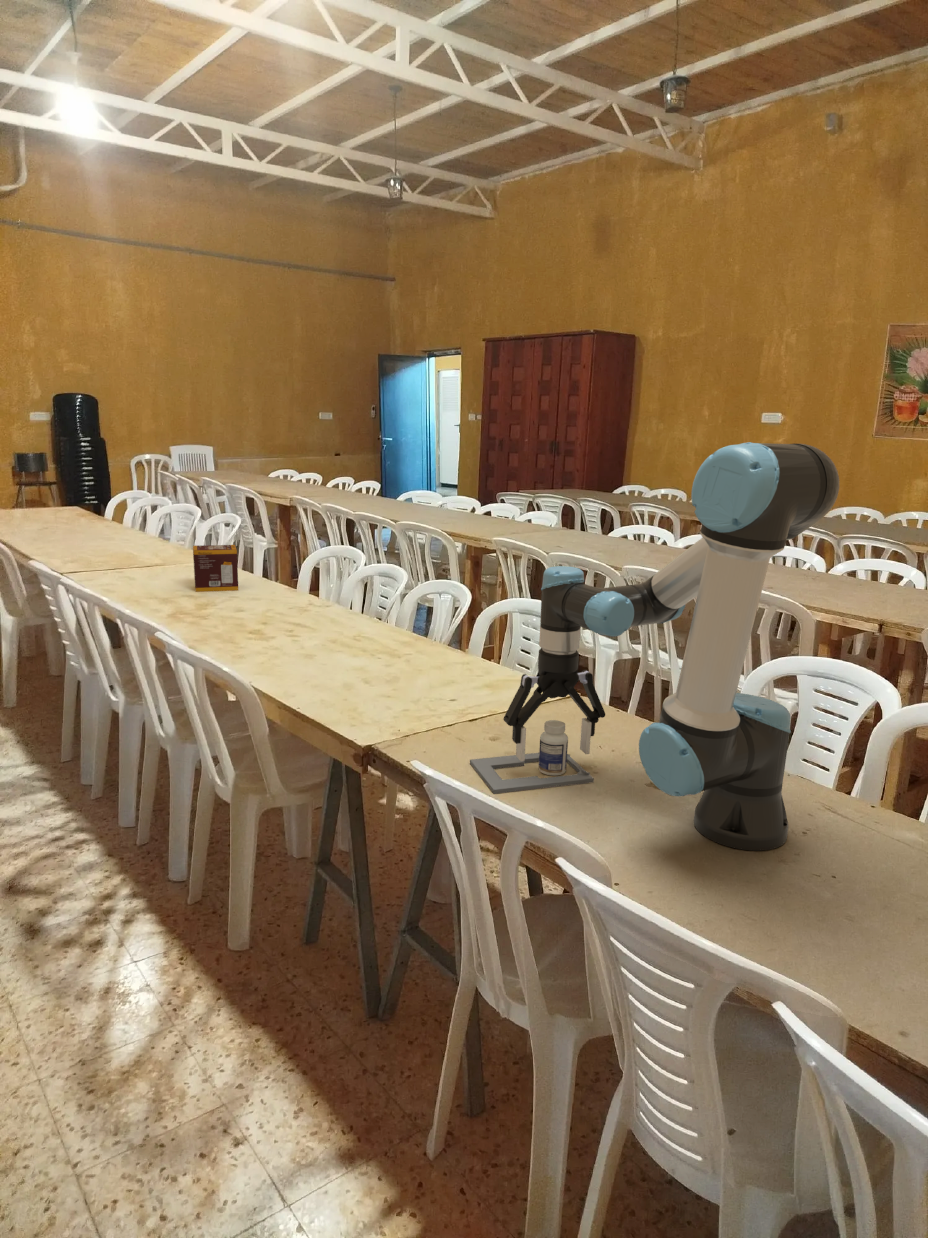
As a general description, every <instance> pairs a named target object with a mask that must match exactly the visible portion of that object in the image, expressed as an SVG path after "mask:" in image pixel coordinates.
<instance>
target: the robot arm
mask: <svg viewBox="0 0 928 1238" xmlns="http://www.w3.org/2000/svg"><path fill="white" fill-rule="evenodd" d="M839 491H840V475H839V472H838V469H837V466H836V465H835V463H834V462H833V460H832V459H831V458H830V456H828V455H827V454H826V453H825V451H822V450H821V449H820V448H817V447H815V446H814V445H809V444H806V443H761V442H750V441H749V442H748V441H747V442H743V443H739V444H730V445H726V446H724V447H721V448H718V449H717V450H715V451H714V452H713V453H712V454H710V455H709V456H707V458H705V460H704V461H703V462H702V463H701V465H700V466H699V467H698V470H697V471H696V474H695V476H694V479H693V482H692V487H691V493H690V494H691V504H692V506H693V507H694V508H695V510H694V514H695V517H696V518H697V520H698V521H699V522H700V523H701V526H700V531H699V534H700V536H701V538H700V539H698V540H697V541H696V542H694V543H693V544H692V545H690V546H689V547H688V548H687V549H685V550H684V551H683V552H682V553H680V554H679V555H677V557H675V558H673V560H671V561H670V562H669V563H667V564H666V565H664V566H663V567H662V568H661V569H660V570H658V571H657V572H656V573H655V574H653V575H652V576H650V578H648V579H647V580H645V581H644V582H641V583H635V584H628V585H627V584H626V585H619V586H618V585H617V586H610V587H596V586H592V585H589V584H586V583H585V575H584V574H585V573H584V571H583V570H582V569H581V568H579V567H575V566H569V565H568V566H567V565H566V566H565V565H564V566H563V565H557V566H550V567H547V568H545V570H544V572H543V574H542V575H543V576H542V584H541V588H540V590H541V594H540V596H541V597H540V598H541V600H540V601H541V602H540V623H539V624H540V626H539V640H538V641H539V643H538V646H539V650H538V655H537V656H538V661H537V674H536V675H535V676H534V675H527V674H526V673H523V674H522V675H521V678H520V685H519V687H518V689H517V691H516V693H515V695H514V697H513V699H512V700H511V702H510V704H509V707H508V709H507V710H506V712H505V714H504V717H503V719H502V720H503V722H505V724H506V725H508V726H509V727H512V736H511V739H512V741H513V743H514V744H515V755H516V756H517V757H518V759H519V760H520V761H525V754H526V738H527V727H525V726H524V725H526V723H527V722H528V720H529V719H530V718H531V717H532V716H533V714H535V712H536V710H538V708H539V707H540V706H541V704H543V703H544V702H545V701H547V699H548V698H550V699H555V698H563V699H564V698H566V697H567V696H568V695H569V697H570V698H571V699H572V700H573V702H574V703H575V704H576V706H577V707H578V708H579V709H580V711H581V712H582V713H583V714H584V715H585V717H582V718H581V727H580V741H579V742H580V743H579V750H580V751H582V752H583V753H584V754H585V755H590V752H591V751H590V750H591V749H590V748H591V738H592V737H594V736H595V732H596V724H597V723H598V722H599V719H600V718H605V717H606V712H605V709H604V707H603V704H602V702H601V699H600V698H599V695H598V692H597V691H596V688H595V686H594V676H593V673H591V672H589V671H588V670H587V669H583V670H582V671H581V672H578V670H579V661H580V660H579V659H580V658H579V657H580V656H579V655H580V653H579V649H580V645H581V644H580V641H581V628H583V629H586V630H589V631H590V632H593V633H595V634H598V635H599V636H608V637H612V638H613V637H614V638H615V637H619V636H621V635H623V634H624V633H625V632H627V631H628V630H629V629H630V628H633V627H639V626H646V625H654V624H664V623H668V622H669V621H674V620H677V619H678V618H680V617H681V616H682V614H683V611H684V610H685V608H686V605H687V604H688V603H689V602H690V601H692V600H694V599H696V600H695V605H694V609H693V614H692V619H691V622H690V628H689V632H688V637H687V640H686V646H685V651H684V655H683V660H682V664H681V668H680V672H679V678H678V682H677V686H676V691H675V692H674V693H672V694H670V695H668V696H667V697H665V699H664V700H663V703H662V707H661V712H660V717H659V720H658V722H652V723H650V724H649V725H648V726H647V727H645V728H644V729H643V730H642V731H641V733H640V737H639V740H638V753H639V758H640V763H641V765H642V767H643V768H644V771H645V774H646V775H647V776H648V779H649V780H650V781H651V782H652V783H653V785H654V786H656V788H657V789H658V790H659V791H661V792H663V793H665V794H666V795H669V796H671V797H672V796H673V797H685V796H691V795H692V796H695V795H697V794H700V793H701V792H702V794H701V797H700V799H699V801H698V803H697V804H696V805H695V810H694V816H693V825H694V827H695V828H696V830H697V831H698V832H699V833H700V834H701V835H702V836H704V837H705V838H707V839H708V840H710V841H712V842H715V843H717V844H719V845H722V846H726V847H729V848H734V849H737V850H744V851H754V852H755V851H757V852H758V851H769V850H774V849H777V848H779V847H781V846H783V845H784V844H785V843H786V842H787V840H788V834H789V820H788V817H787V812H786V807H785V802H784V799H783V794H782V793H783V783H784V777H785V769H786V761H787V755H788V749H789V748H788V745H789V740H790V734H791V733H792V731H791V717H792V716H791V712H790V711H789V710H788V708H786V706H785V705H783V704H781V703H779V702H777V701H774V700H772V699H769V698H766V697H763V696H758V695H754V694H748V693H742V692H741V693H739V692H738V688H739V685H740V679H741V676H742V672H743V668H744V664H745V659H746V656H747V651H748V647H749V643H750V640H751V636H752V631H753V627H754V623H755V621H756V620H755V619H756V615H757V611H758V608H759V603H760V600H761V595H762V591H763V587H764V583H765V580H766V576H767V575H766V574H767V572H768V568H769V563H770V559H771V558H772V557H774V556H775V555H777V554H779V553H781V552H782V551H784V550H785V546H786V542H787V541H789V540H793V539H795V538H797V537H798V536H799V535H800V534H802V533H804V532H805V531H807V530H808V529H811V527H812V526H814V525H816V524H817V523H818V522H820V520H822V519H823V518H825V516H826V515H827V514H828V513H829V512H830V511H831V509H832V508H833V507H834V505H835V503H836V501H837V499H838V496H839ZM579 681H580V683H581V684H582V686H583V688H584V691H585V693H586V695H587V698H588V700H589V703H590V705H591V707H592V709H591V708H590V707H589V706H588V704H587V703H586V701H585V700H584V699H583V698H582V697H581V695H580V694H579V693H578V691H577V689H576V688H575V686H576V685H577V683H578V682H579ZM535 684H537V687H536V688H535V689H534V690H533V694H532V695H531V697H530V698H529V699H528V700H527V698H528V697H529V694H530V693H531V690H532V688H534V686H535ZM526 701H527V702H526Z"/></svg>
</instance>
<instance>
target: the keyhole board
mask: <svg viewBox="0 0 928 1238" xmlns="http://www.w3.org/2000/svg"><path fill="white" fill-rule="evenodd" d="M529 763H539V752H532V753H525V761H520V760H519V759H518V757H517V756H516V754H512V755H503V756H501V755H500V756H493V757H483V758H472V759H469V765H470V766H471V767H472V768H473V769H474V771H475V772H476V773H477V774H478V776H479V777H480V778H481V780H482V781H483V782H484V784H485V785H486V786H487V787H488V789H489V790H490V791H491V792H492V794H493V795H497V794H504V793H515V792H521V791H522V792H523V791H530V790H539V789H548V788H556V787H566V786H575V785H583V784H590V783H591V784H592V783H594V782H595V778H594V777H593V776H592V775H591V772H588V771H587V770H585V769H584V768H583V767H582V766H581V765H580V764H579V763H578V762H577V761H576V760H575V759H573V758H572V757H571V754H569V753H567V764H568V765H569V766H570V767H571V768H573V770H574V771H576V772H577V773H576V774H567V775H557V776H551V777H550V776H547V777H542V778H541V777H539V776H538V775H533V776H532V775H530V776H524V777H514V778H507V779H502V778H501V776H500V775H499V773H497V771H496V770H498V769H506V768H507V769H508V768H516V767H517V768H518V767H525V764H529ZM495 769H496V770H495Z"/></svg>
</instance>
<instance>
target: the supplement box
mask: <svg viewBox="0 0 928 1238" xmlns="http://www.w3.org/2000/svg"><path fill="white" fill-rule="evenodd" d="M192 554H193V555H192V556H193V573H194V574H193V575H194V586H195V587H194V588H195V593H207V592H208V593H209V592H230V591H231V592H235V591H239V571H238V570H239V567H238V550H237V547H236V544H216V545H215V544H214V545H210V544H208V545H205V544H203V545H193V546H192Z"/></svg>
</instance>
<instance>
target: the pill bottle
mask: <svg viewBox="0 0 928 1238" xmlns="http://www.w3.org/2000/svg"><path fill="white" fill-rule="evenodd" d="M543 731H544V732H541V734H540V736H539V748H538V749H539V750H538V751H539V752H538V753H539V762H538V770H539V772H540V773H542V774H544V775H547V776H551V777H557V776H563V774H565V773H566V772H567V764H568V763H567V754H568V747H569V737H568V734H566V733H565V732H566V723H565V722H564V721H561V720H558V719H557V720H556V719H549V720H546V721H545V722H544V727H543Z"/></svg>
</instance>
